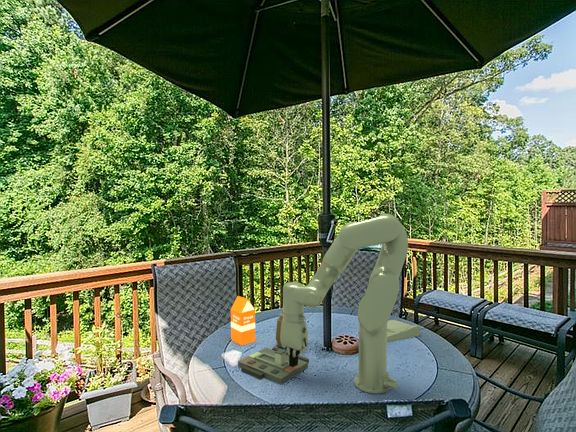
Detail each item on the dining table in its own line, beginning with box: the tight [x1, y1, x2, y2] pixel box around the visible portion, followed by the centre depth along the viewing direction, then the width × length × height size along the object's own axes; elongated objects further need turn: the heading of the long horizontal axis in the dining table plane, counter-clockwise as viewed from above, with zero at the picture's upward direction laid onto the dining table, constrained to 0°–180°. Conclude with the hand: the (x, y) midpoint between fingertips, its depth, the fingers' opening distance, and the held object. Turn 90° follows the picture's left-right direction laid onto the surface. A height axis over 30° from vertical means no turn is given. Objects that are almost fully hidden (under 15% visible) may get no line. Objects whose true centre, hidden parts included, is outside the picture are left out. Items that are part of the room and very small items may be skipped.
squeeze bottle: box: [275, 307, 285, 349], centre depth 158 cm, size 8×8×18 cm
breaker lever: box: [275, 348, 287, 366], centre depth 136 cm, size 3×3×5 cm
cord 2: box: [271, 346, 310, 364], centre depth 147 cm, size 18×2×2 cm, turn 51°
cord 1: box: [240, 366, 265, 380], centre depth 133 cm, size 10×2×2 cm, turn 51°
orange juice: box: [230, 295, 256, 346], centre depth 164 cm, size 8×9×20 cm
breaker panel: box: [237, 347, 309, 385], centre depth 139 cm, size 22×16×3 cm
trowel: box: [387, 319, 421, 343], centre depth 168 cm, size 28×16×5 cm, turn 93°
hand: (293, 365), depth 132 cm, fingers closed
